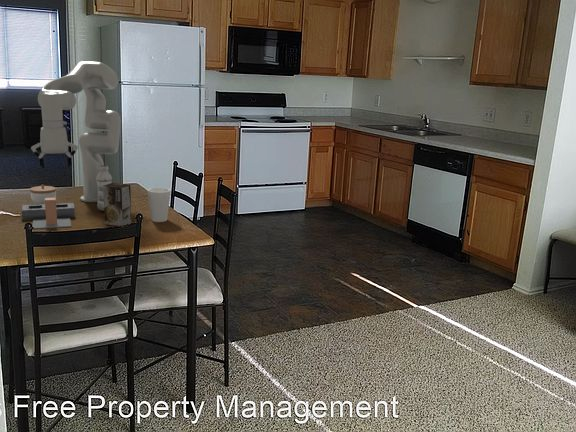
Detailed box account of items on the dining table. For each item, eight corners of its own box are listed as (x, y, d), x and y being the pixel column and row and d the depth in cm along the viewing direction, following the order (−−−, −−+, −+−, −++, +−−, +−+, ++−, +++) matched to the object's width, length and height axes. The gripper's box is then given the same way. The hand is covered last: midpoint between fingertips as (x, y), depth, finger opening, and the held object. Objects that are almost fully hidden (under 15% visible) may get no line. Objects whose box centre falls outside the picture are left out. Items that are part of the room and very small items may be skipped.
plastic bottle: (116, 210, 253) (115, 165, 248) (105, 213, 247) (104, 167, 242) (105, 208, 256) (103, 164, 251) (94, 211, 250) (92, 166, 245)
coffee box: (132, 223, 235) (131, 184, 231) (122, 227, 229) (121, 187, 225) (113, 220, 238) (112, 182, 234) (103, 224, 232) (102, 185, 228)
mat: (70, 219, 236) (69, 218, 236) (71, 226, 226) (71, 225, 225) (33, 220, 231) (33, 220, 231) (32, 229, 220) (32, 228, 220)
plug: (57, 221, 230) (55, 197, 228) (57, 224, 227) (55, 199, 224) (46, 222, 229) (44, 197, 226) (46, 224, 225) (44, 200, 223)
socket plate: (73, 211, 247) (73, 202, 246) (74, 217, 239) (74, 208, 238) (23, 214, 240) (22, 205, 239) (22, 219, 232) (21, 210, 231)
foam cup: (151, 216, 246) (150, 187, 243) (172, 217, 246) (172, 188, 243) (145, 222, 237) (144, 191, 234) (167, 223, 237) (167, 193, 233)
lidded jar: (31, 208, 249) (29, 187, 246) (30, 203, 258) (29, 182, 256) (57, 207, 253) (56, 186, 251) (56, 201, 263) (55, 181, 260)
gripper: (75, 123, 231) (78, 164, 236) (29, 123, 225) (32, 166, 230) (76, 125, 224) (79, 168, 229) (28, 126, 218) (32, 170, 223)
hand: (56, 167), depth 230 cm, fingers open, 9 cm apart
